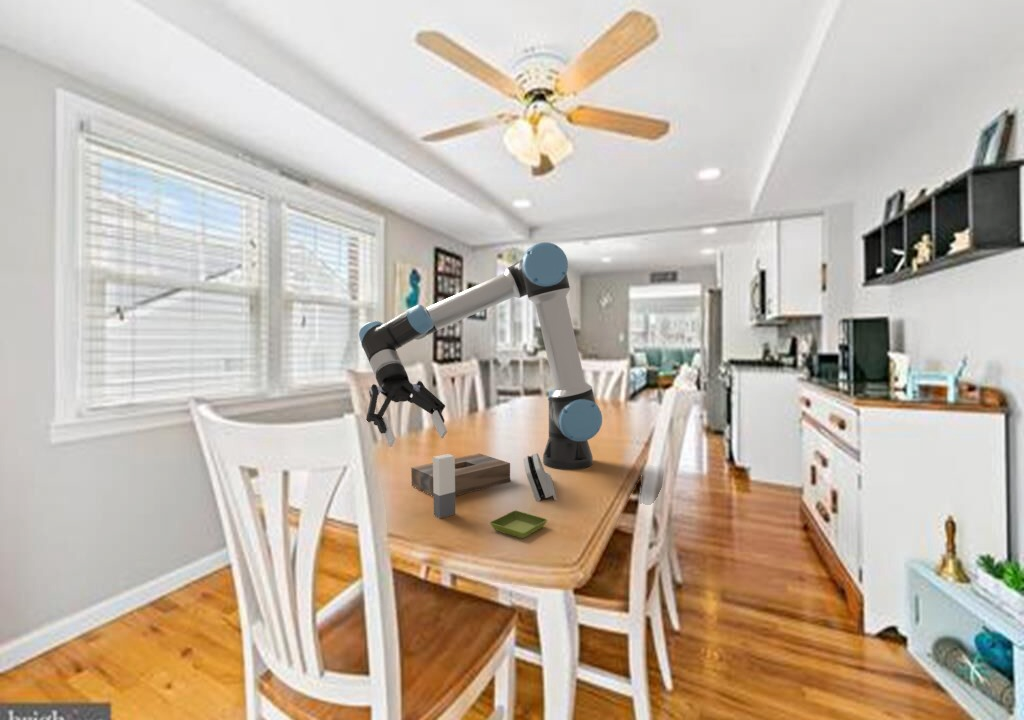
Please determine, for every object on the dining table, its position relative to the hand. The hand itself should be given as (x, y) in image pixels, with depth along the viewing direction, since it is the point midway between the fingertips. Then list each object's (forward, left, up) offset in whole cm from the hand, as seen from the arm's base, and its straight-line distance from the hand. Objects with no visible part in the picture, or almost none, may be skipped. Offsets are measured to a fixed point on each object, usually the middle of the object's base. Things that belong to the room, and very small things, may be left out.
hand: (419, 439), depth 112 cm
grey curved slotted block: (-24, -18, -16) cm, 34 cm away
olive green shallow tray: (-27, +7, -16) cm, 32 cm away
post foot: (-3, -16, -15) cm, 22 cm away
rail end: (-9, +5, -15) cm, 18 cm away
